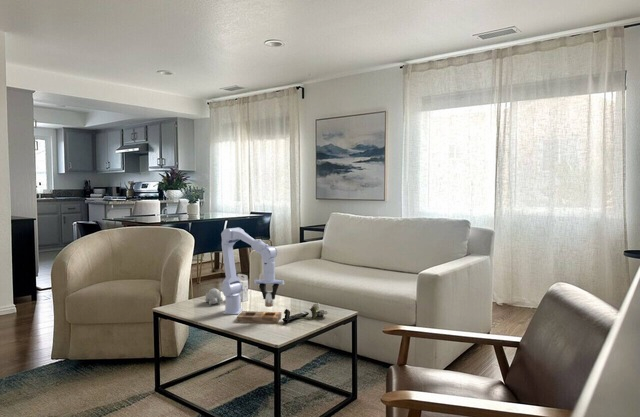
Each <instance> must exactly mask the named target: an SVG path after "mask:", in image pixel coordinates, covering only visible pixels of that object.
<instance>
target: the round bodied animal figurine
mask: <svg viewBox="0 0 640 417" xmlns="http://www.w3.org/2000/svg"><path fill="white" fill-rule="evenodd" d="M204 294H205V300H204V302H206V303H209V305H210V306H212V305H215V304H219V303H221V302H223V300H224V299H223V297H222V294H221V290H219V289H218V288H215V287H214V288H211V289H209V291H207V293H204Z"/></svg>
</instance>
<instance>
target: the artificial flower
mask: <svg viewBox="0 0 640 417" xmlns="http://www.w3.org/2000/svg"><path fill="white" fill-rule="evenodd" d="M308 308H309V310H310V312H311V318H308V317H303V316H294V315H291V310H290V309H287V308H286V309H284V311H283V314H284V317H283V320H282V321H284V320H286V319H287V322H285V323H286V324H288V323H290V318H292V319H296V318H297V319H299V318H300V319H305V320H309V321H312V320H314V319H315V318H317V316H325V315H328V313H329V312H328V311H326V310H324V309H321V310H320V308H321V304H320V303H319V302H317V303H314V304H313V305H311V306H308Z"/></svg>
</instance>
